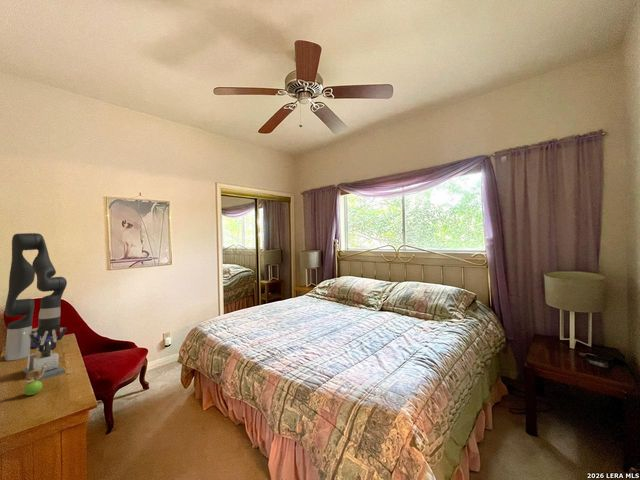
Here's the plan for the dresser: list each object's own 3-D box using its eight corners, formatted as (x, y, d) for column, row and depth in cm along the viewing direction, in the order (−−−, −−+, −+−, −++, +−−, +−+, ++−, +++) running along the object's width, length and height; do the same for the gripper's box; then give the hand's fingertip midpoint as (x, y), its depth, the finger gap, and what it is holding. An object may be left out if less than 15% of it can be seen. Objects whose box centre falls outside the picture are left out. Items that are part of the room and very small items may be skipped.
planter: (26, 350, 155) (28, 332, 156) (30, 345, 164) (31, 328, 164) (52, 346, 163) (53, 328, 163) (54, 341, 171) (55, 325, 171)
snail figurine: (47, 391, 111) (49, 363, 112) (27, 399, 105) (29, 369, 106) (40, 388, 113) (42, 361, 113) (19, 396, 107) (22, 367, 107)
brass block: (38, 371, 126) (40, 350, 127) (34, 368, 129) (36, 348, 129) (49, 368, 130) (51, 348, 130) (45, 365, 132) (47, 346, 133)
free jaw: (32, 372, 124) (35, 342, 125) (55, 365, 131) (57, 338, 132) (35, 373, 123) (37, 344, 124) (58, 367, 130) (60, 339, 131)
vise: (23, 372, 128) (24, 355, 128) (51, 364, 137) (52, 348, 137) (36, 381, 119) (37, 362, 120) (64, 372, 128) (66, 355, 128)
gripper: (31, 320, 121) (28, 357, 120) (71, 314, 133) (68, 347, 132) (26, 318, 124) (23, 354, 123) (65, 312, 137) (63, 345, 136)
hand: (47, 350), depth 128 cm, fingers open, 3 cm apart
